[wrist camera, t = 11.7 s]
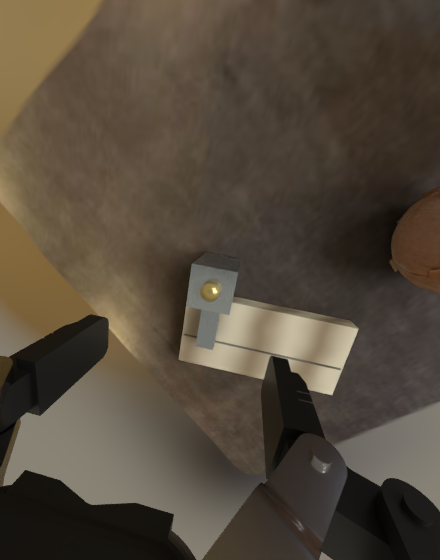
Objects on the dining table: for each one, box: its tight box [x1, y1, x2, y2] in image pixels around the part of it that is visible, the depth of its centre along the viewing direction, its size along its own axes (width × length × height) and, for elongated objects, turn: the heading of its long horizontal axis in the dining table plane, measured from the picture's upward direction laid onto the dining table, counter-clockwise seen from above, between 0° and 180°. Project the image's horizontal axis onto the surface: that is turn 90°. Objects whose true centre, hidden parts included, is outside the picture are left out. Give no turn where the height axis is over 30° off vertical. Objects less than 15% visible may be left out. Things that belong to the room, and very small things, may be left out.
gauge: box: [186, 252, 240, 350], centre depth 22 cm, size 4×10×8 cm, turn 170°
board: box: [179, 297, 358, 395], centre depth 26 cm, size 19×9×2 cm, turn 80°
